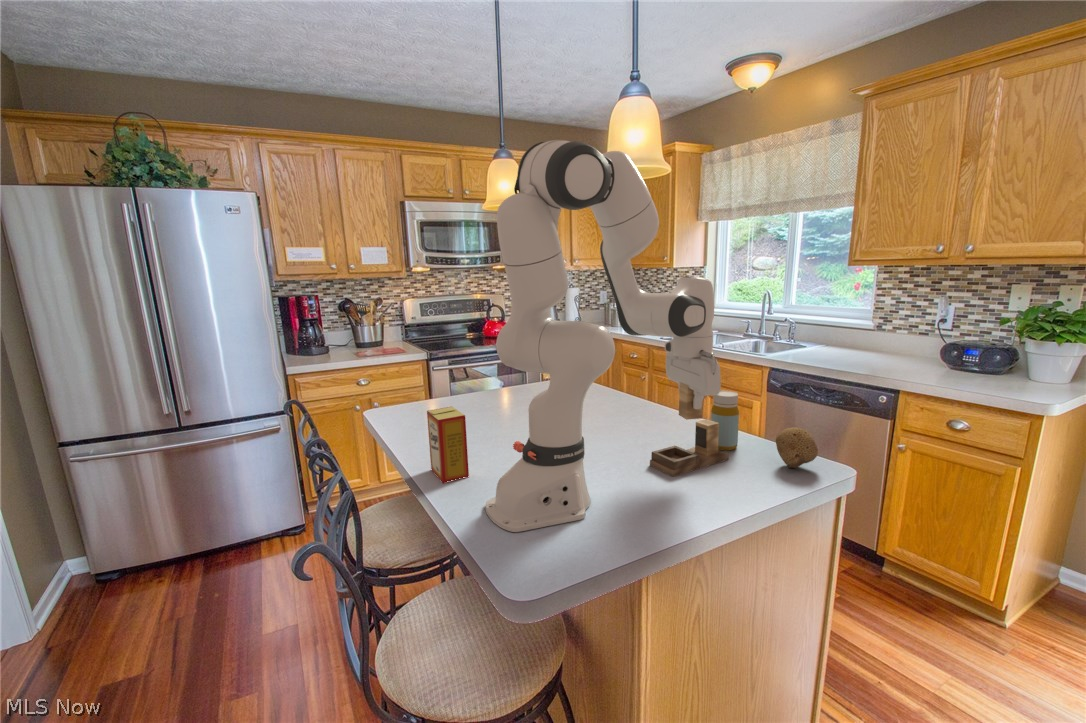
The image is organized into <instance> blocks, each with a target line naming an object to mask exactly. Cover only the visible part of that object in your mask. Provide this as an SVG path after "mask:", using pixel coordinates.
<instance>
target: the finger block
mask: <svg viewBox="0 0 1086 723" xmlns="http://www.w3.org/2000/svg"><path fill="white" fill-rule="evenodd" d="M678 391H679V390H678ZM694 396H695V395H694V390H692V389H690V388H689V387H688V386H687V385H685V384H683V383H680V391H679V397H678V399H679V400H678V416H680V418H681V417H682V418H683V419H685V420H700V419H702V420H703V414H704V413H703V412H704V411H703V410H704V399H703V400H702V405H701V409H694V408H692V407H691V405H692V404H691V402H692V401H693V400H694Z"/></svg>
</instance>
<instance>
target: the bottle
mask: <svg viewBox="0 0 1086 723" xmlns="http://www.w3.org/2000/svg"><path fill="white" fill-rule="evenodd" d="M712 396H713V398H712V399H713V403H712V404H713V405H712V407H711V411H710V412H711V413H710V420H711V421H714V422H717V423H719V439H718V450H719V451H725V452H727V451H728V452H729V451H734V450H736V448H738V442H739V441H738V440H739V422H740V420H739V418H740V410H739V407H738V402H739V393H738V392H736V391H730V390H720V392H719V394H718V395H712Z"/></svg>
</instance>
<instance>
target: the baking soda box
mask: <svg viewBox="0 0 1086 723" xmlns="http://www.w3.org/2000/svg"><path fill="white" fill-rule="evenodd" d="M426 415H427V417H426V418H427V430H428V432H427V433H428V443H429V456H430V457H429V458H430V469H432V470H431V472H432V473H433V474H434V473H435V474H436V475H437V476H438V477H437V476H436V475H435V474H434V475H435V476H436V477H437V478H438V479H439V480H441V481H442V482H443V483H442V482H441V481H440V482H441V483H442V484H445V483H444V482H447V481H451V480H455V479H459V478H463V477H468V476H469V477H470V474H469V471H470V470H469V455H468V442H467V426H466V424H467V422H466V415H465V414H464V413H462V412H461V411H459V410H458V409H457V408H455V407H454V406H447V407H443V408H442V407H441V408H435V409H428V410H426ZM469 477H468V478H469ZM463 479H464V478H463ZM459 480H460V479H459ZM455 481H456V480H455ZM451 482H452V481H451ZM447 483H448V482H447Z"/></svg>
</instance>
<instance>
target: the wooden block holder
mask: <svg viewBox="0 0 1086 723" xmlns="http://www.w3.org/2000/svg"><path fill="white" fill-rule="evenodd" d="M694 434H695V436H694V447H692V448H687V449H685V448H682V447H680V446H677V445H673V446H669V447H665V448H661V449H658V450H654V451H651V459H649V466H650V467H652V468H654V469H657V470H658V471H660V472H662V473H664V474H667V475H669V476H671V477H677V476H679V475H682V474H686V473H689V472H692V471H696V470H700V469H702V468H705V467H708V466H713V465H714V464H720V463H721V462H725V461H728V460H729V454H728V453H726V452H725V451H722V450H719V449H718V439H719V423H717V422H714V421H711V419H708V418H706V419H702V420H698V421H695V433H694Z"/></svg>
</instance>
